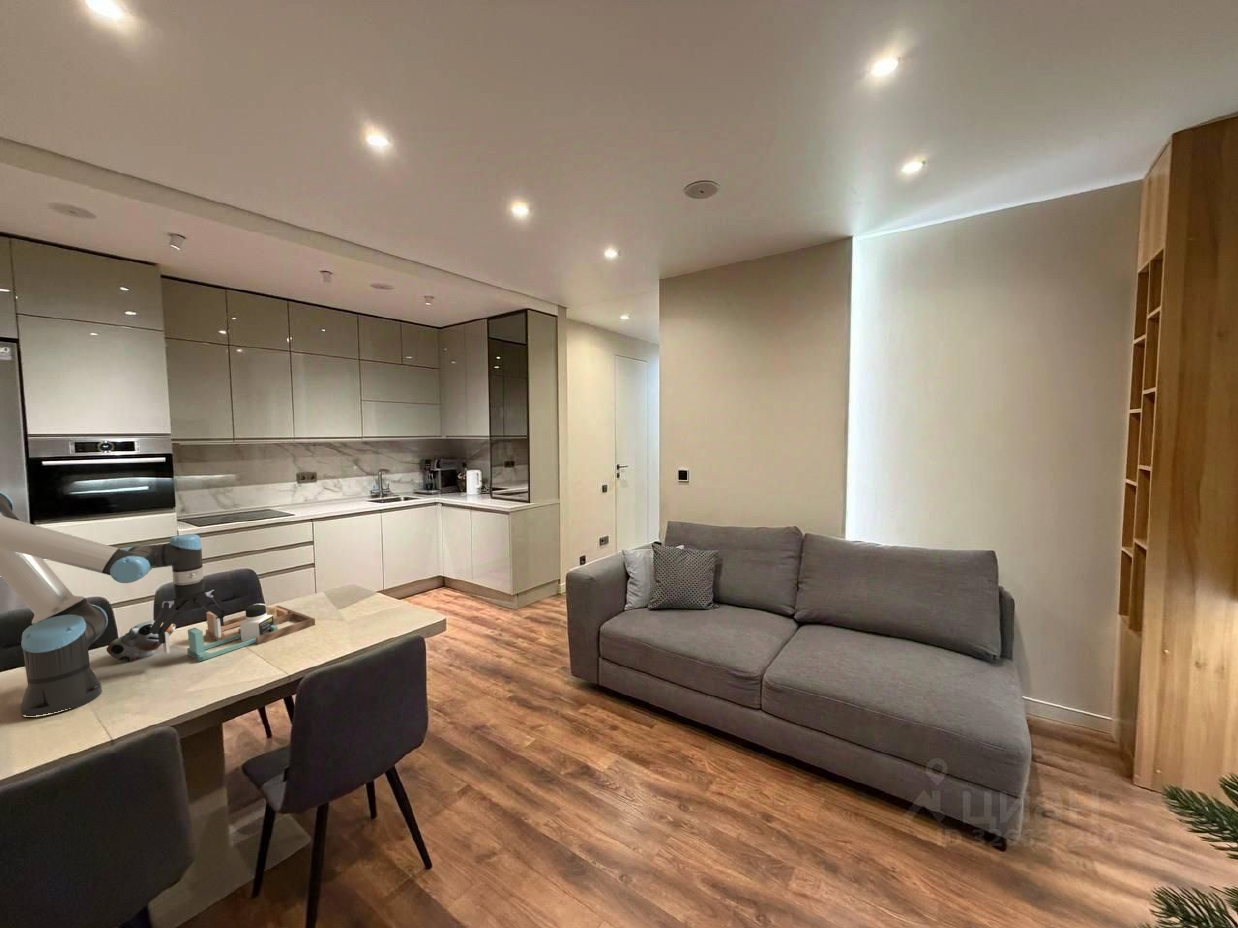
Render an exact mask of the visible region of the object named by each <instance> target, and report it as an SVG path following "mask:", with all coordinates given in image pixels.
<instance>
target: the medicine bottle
mask: <svg viewBox="0 0 1238 928" xmlns="http://www.w3.org/2000/svg"><path fill="white" fill-rule="evenodd" d="M266 607H267V606H266V604H265V603H255V604H251V605H249V606H247V607H246V608H245V610H244V611H245V615H246V620H244V621H242V622H240V627H239V629H240V630H241V638H240V639H241V642H245V641H248V640H251V639H254V638H256V637H257V636H260V635H263V634H266V633H269V632H271V631H270V626H272V625H274V622H273V615H267V613H266Z"/></svg>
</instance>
